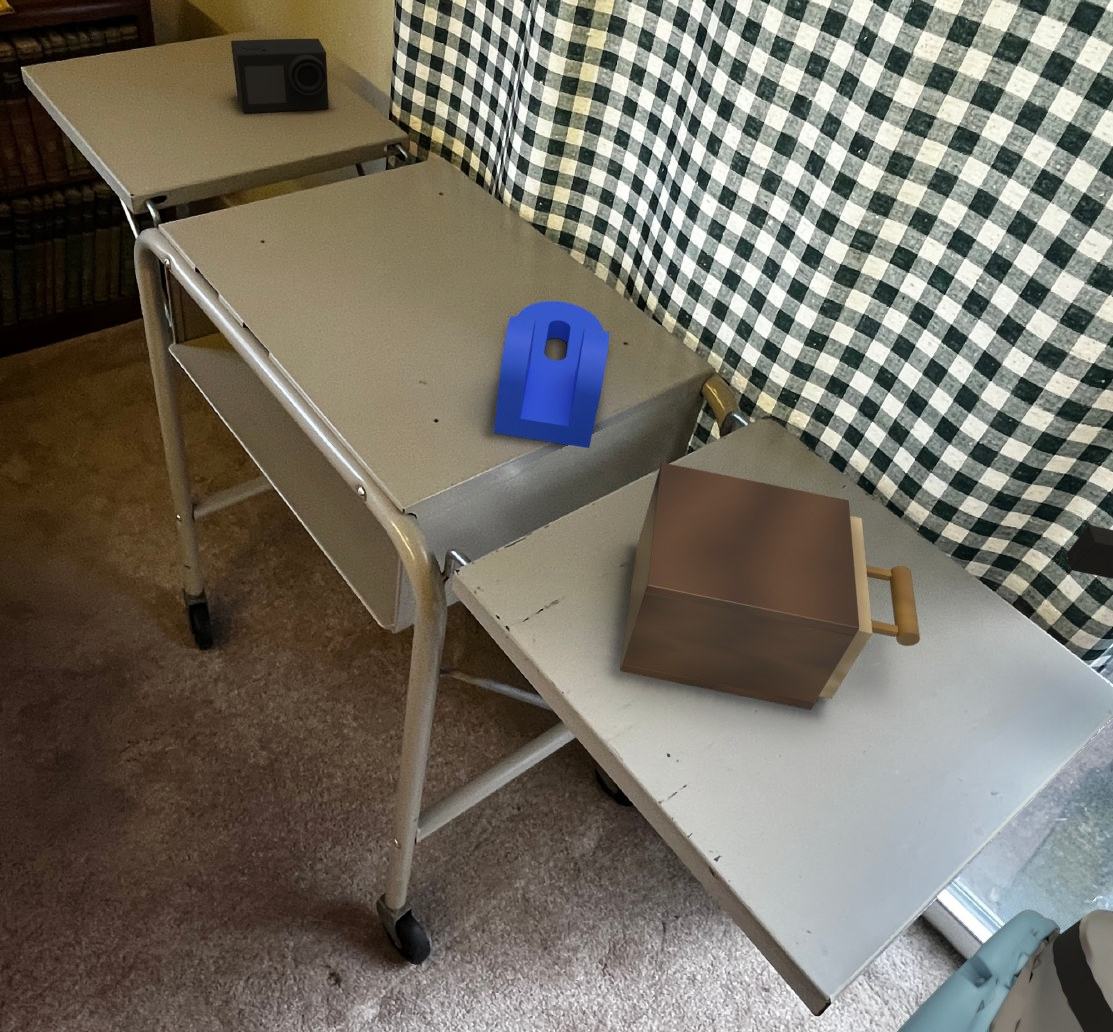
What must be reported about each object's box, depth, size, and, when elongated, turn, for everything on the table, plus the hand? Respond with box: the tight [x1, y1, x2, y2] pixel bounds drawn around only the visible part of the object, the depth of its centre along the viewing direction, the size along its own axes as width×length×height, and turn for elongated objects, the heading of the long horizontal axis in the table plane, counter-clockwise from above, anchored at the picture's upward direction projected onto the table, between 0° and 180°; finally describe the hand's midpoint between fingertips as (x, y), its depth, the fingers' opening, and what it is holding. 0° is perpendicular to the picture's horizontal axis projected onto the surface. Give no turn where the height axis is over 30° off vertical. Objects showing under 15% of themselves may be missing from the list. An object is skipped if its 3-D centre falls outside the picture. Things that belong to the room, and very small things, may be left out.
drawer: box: [818, 515, 921, 700], centre depth 67 cm, size 17×10×8 cm, turn 81°
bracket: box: [493, 300, 610, 449], centre depth 85 cm, size 18×8×9 cm, turn 175°
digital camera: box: [230, 38, 330, 114], centre depth 115 cm, size 10×5×7 cm, turn 113°
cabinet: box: [620, 462, 859, 711], centre depth 67 cm, size 14×12×10 cm
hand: (1080, 547), depth 60 cm, fingers closed
